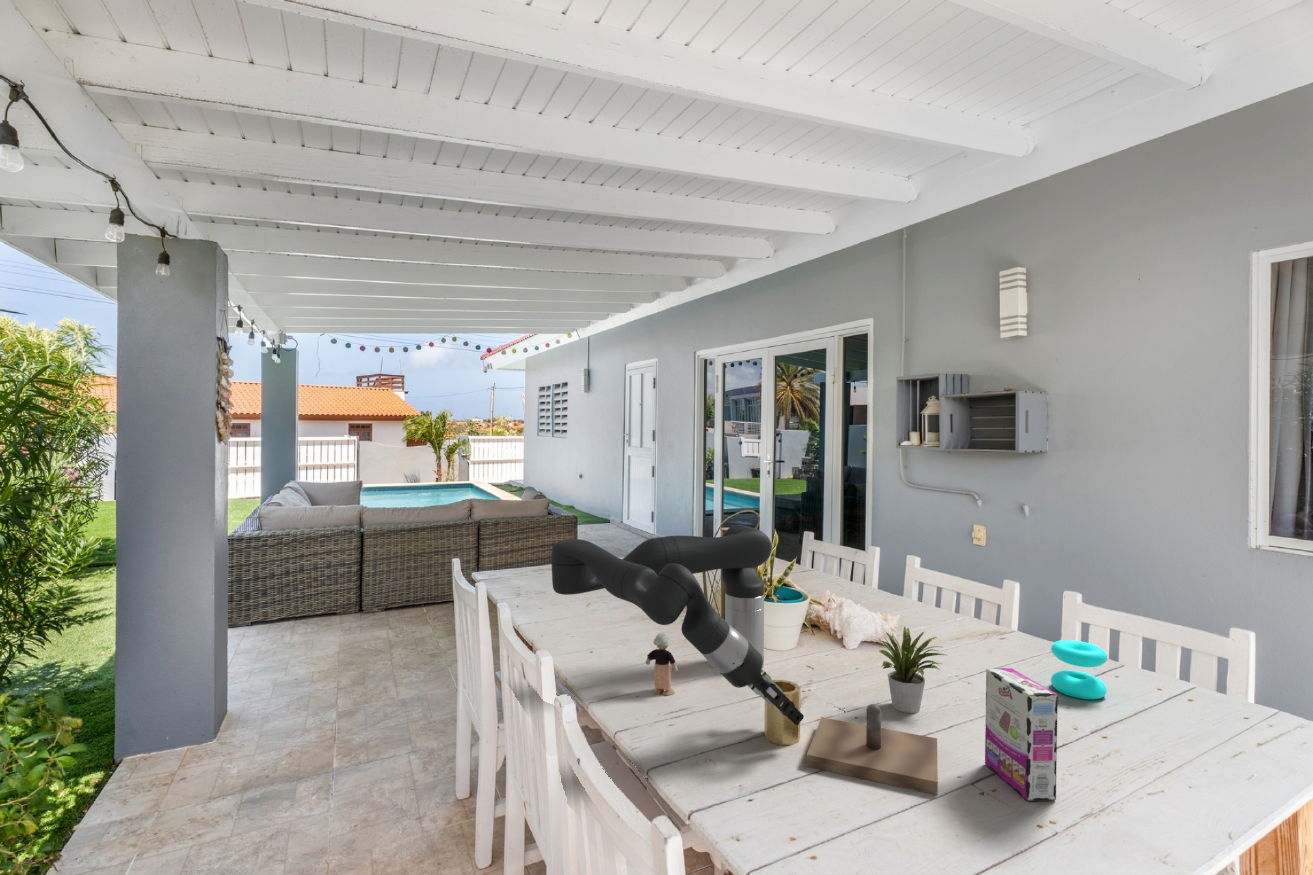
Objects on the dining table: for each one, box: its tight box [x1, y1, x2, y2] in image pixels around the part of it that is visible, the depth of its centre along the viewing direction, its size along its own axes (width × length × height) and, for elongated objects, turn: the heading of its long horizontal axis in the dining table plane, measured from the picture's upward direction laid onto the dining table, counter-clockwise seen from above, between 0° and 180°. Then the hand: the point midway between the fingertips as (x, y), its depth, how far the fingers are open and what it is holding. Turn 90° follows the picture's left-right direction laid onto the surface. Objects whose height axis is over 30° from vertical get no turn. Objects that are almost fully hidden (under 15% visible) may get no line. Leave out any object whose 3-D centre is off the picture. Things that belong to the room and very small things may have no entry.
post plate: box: [806, 703, 939, 796], centre depth 108 cm, size 20×15×9 cm
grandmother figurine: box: [645, 632, 678, 696], centre depth 135 cm, size 8×4×13 cm, turn 71°
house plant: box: [874, 626, 947, 714], centre depth 126 cm, size 14×14×16 cm
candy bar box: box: [984, 667, 1059, 802], centre depth 101 cm, size 11×5×16 cm, turn 5°
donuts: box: [1050, 639, 1108, 700], centre depth 135 cm, size 10×10×10 cm
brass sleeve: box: [763, 679, 801, 746], centre depth 115 cm, size 6×6×9 cm
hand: (788, 710), depth 115 cm, fingers open, 8 cm apart
